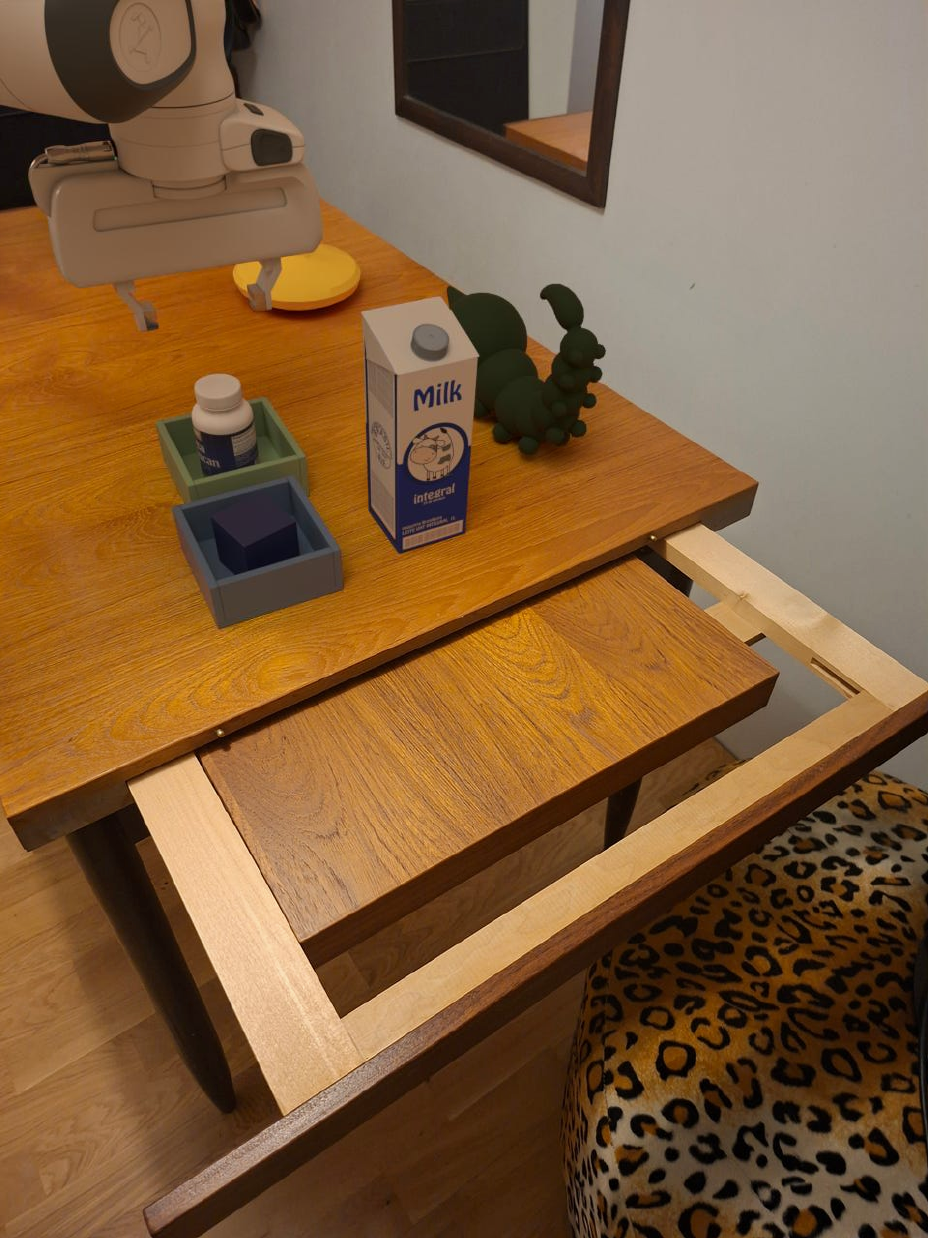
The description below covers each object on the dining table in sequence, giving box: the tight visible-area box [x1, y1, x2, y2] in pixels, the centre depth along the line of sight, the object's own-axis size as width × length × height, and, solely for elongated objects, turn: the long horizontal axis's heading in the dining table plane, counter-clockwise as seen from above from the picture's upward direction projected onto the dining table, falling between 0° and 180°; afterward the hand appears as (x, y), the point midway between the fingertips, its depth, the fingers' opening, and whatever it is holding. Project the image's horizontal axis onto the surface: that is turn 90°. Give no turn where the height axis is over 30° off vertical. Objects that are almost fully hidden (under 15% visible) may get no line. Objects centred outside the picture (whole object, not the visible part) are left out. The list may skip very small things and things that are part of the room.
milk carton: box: [360, 295, 479, 554], centre depth 73 cm, size 7×7×20 cm
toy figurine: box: [446, 283, 607, 457], centre depth 87 cm, size 9×19×25 cm
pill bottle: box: [191, 373, 260, 478], centre depth 79 cm, size 5×5×10 cm
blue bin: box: [170, 475, 344, 629], centre depth 74 cm, size 11×11×5 cm
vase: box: [231, 242, 362, 312], centre depth 107 cm, size 16×16×7 cm
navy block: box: [210, 492, 300, 575], centre depth 73 cm, size 5×5×5 cm
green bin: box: [154, 396, 311, 504], centre depth 82 cm, size 11×11×5 cm
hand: (205, 317), depth 72 cm, fingers open, 8 cm apart
